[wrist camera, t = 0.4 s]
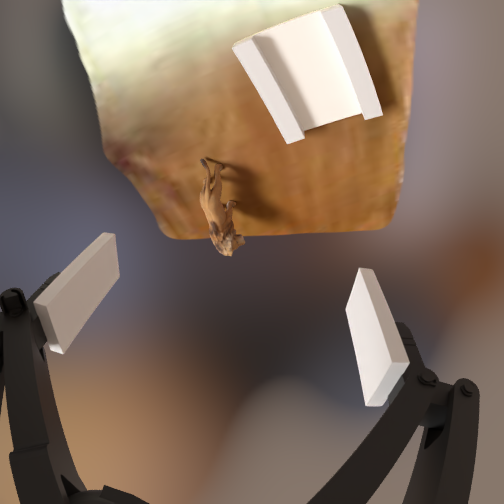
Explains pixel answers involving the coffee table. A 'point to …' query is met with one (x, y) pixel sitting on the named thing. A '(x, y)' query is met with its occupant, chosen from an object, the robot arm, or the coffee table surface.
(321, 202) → the coffee table surface
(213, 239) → the lion figurine
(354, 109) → the tray
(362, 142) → the coffee table surface
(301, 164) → the coffee table surface
